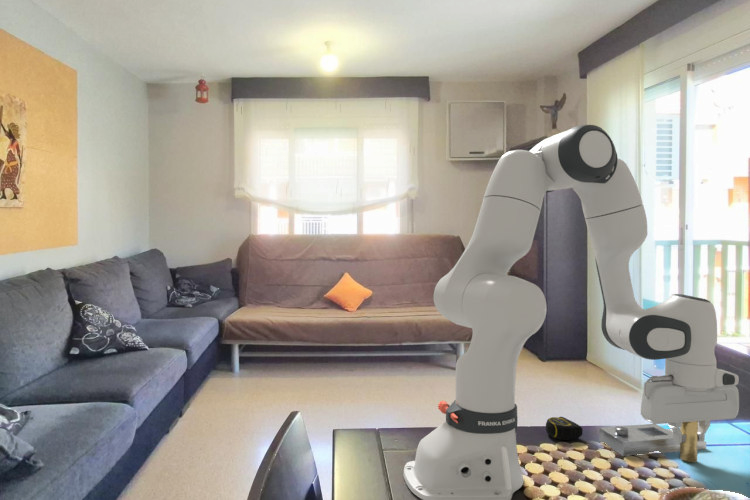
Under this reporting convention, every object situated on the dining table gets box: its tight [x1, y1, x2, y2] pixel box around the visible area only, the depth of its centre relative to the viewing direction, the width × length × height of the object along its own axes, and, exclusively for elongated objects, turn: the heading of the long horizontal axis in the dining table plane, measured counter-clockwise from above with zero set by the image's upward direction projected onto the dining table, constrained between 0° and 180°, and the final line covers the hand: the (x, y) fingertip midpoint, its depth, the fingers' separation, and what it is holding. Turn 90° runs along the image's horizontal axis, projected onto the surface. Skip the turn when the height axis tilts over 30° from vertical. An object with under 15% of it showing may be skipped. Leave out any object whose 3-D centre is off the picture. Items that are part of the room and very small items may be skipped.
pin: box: [679, 421, 698, 463], centre depth 103 cm, size 3×3×10 cm
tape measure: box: [545, 416, 584, 441], centre depth 115 cm, size 7×7×4 cm
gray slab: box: [599, 423, 707, 457], centre depth 110 cm, size 20×8×4 cm, turn 101°
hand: (688, 441), depth 103 cm, fingers closed on pin, 3 cm apart
